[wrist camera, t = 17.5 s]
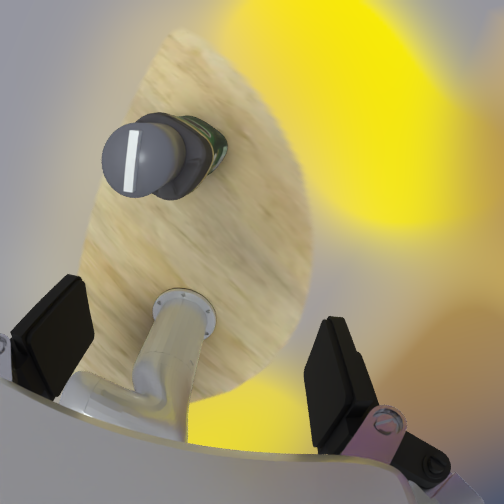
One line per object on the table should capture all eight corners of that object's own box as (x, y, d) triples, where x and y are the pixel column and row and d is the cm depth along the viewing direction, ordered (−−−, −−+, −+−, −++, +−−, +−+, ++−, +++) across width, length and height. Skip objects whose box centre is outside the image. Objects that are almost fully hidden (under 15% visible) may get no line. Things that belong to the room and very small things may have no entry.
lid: (131, 121, 23) (102, 121, 18) (190, 126, 24) (172, 125, 18) (124, 181, 26) (96, 194, 21) (181, 189, 26) (162, 205, 21)
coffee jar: (158, 151, 42) (99, 167, 25) (185, 109, 39) (137, 98, 22) (207, 183, 44) (175, 218, 27) (236, 142, 41) (220, 150, 24)
